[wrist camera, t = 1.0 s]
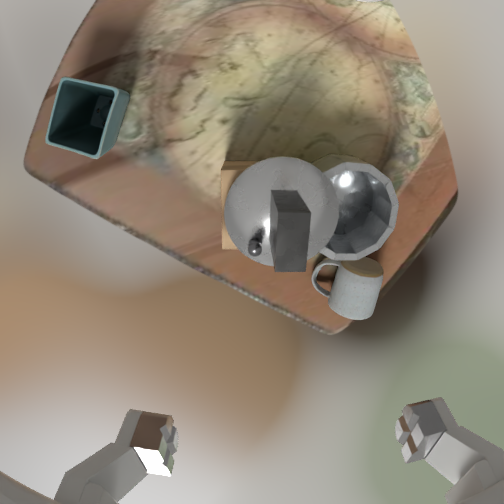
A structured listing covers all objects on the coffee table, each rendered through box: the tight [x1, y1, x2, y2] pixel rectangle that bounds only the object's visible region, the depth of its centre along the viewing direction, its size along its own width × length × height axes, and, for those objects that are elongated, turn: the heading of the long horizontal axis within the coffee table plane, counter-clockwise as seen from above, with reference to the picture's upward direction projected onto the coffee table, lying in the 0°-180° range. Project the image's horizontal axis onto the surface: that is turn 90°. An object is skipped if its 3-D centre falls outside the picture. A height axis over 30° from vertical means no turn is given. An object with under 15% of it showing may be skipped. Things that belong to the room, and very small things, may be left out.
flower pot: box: [46, 77, 130, 159], centre depth 32 cm, size 9×9×9 cm
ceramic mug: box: [312, 257, 383, 320], centre depth 45 cm, size 11×8×8 cm
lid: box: [224, 156, 339, 272], centre depth 32 cm, size 14×14×9 cm
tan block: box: [221, 161, 258, 249], centre depth 39 cm, size 10×9×7 cm
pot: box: [310, 154, 399, 260], centre depth 39 cm, size 13×13×7 cm
